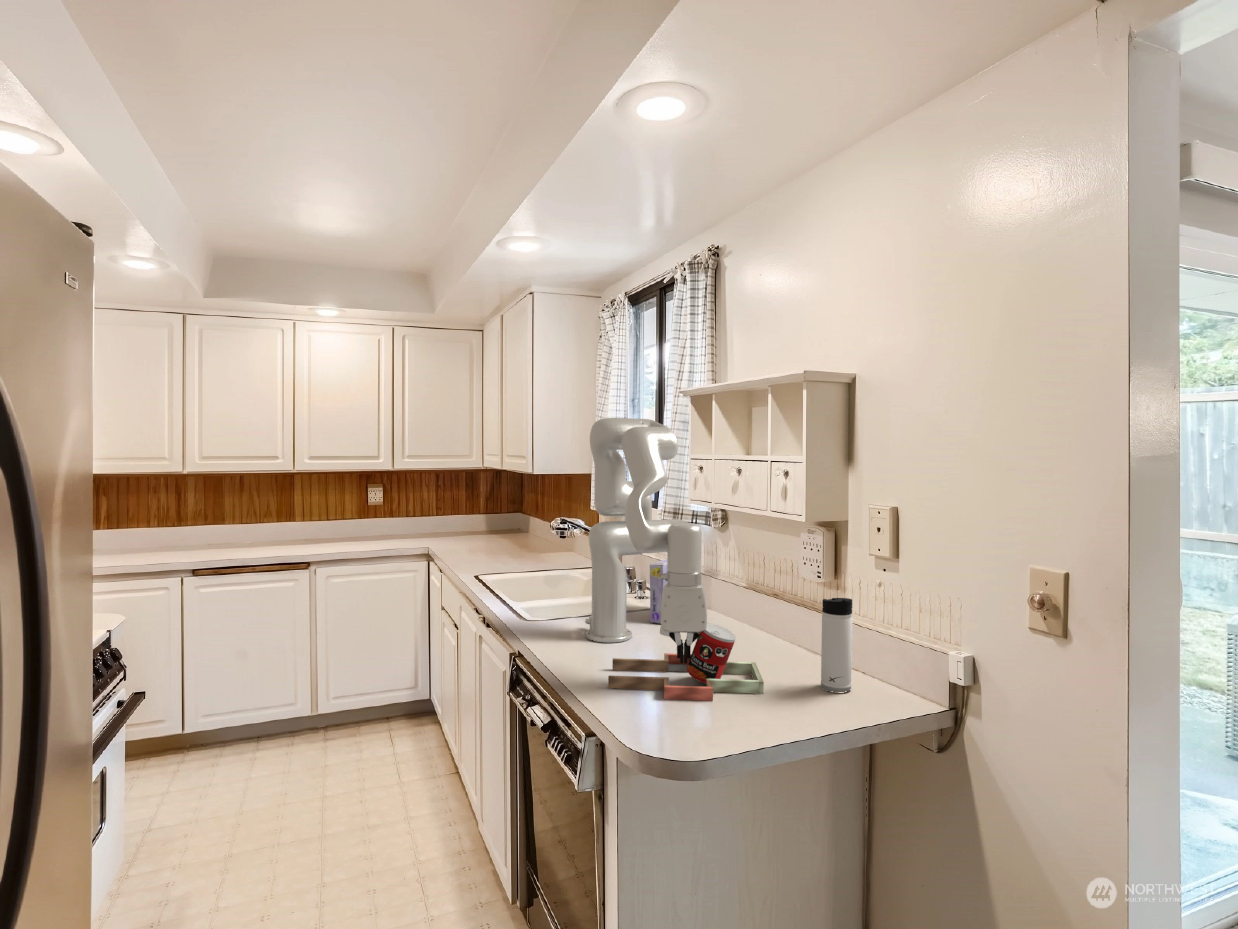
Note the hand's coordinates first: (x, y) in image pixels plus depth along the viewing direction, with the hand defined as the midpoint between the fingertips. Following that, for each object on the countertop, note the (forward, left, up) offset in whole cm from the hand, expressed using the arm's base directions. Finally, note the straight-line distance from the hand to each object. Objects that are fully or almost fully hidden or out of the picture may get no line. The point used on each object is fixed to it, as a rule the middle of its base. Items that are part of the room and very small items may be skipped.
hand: (683, 661), depth 150 cm
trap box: (0, 0, -4) cm, 4 cm away
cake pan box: (-42, +38, -5) cm, 57 cm away
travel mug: (+25, +22, -5) cm, 33 cm away
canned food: (+3, +3, -3) cm, 5 cm away
